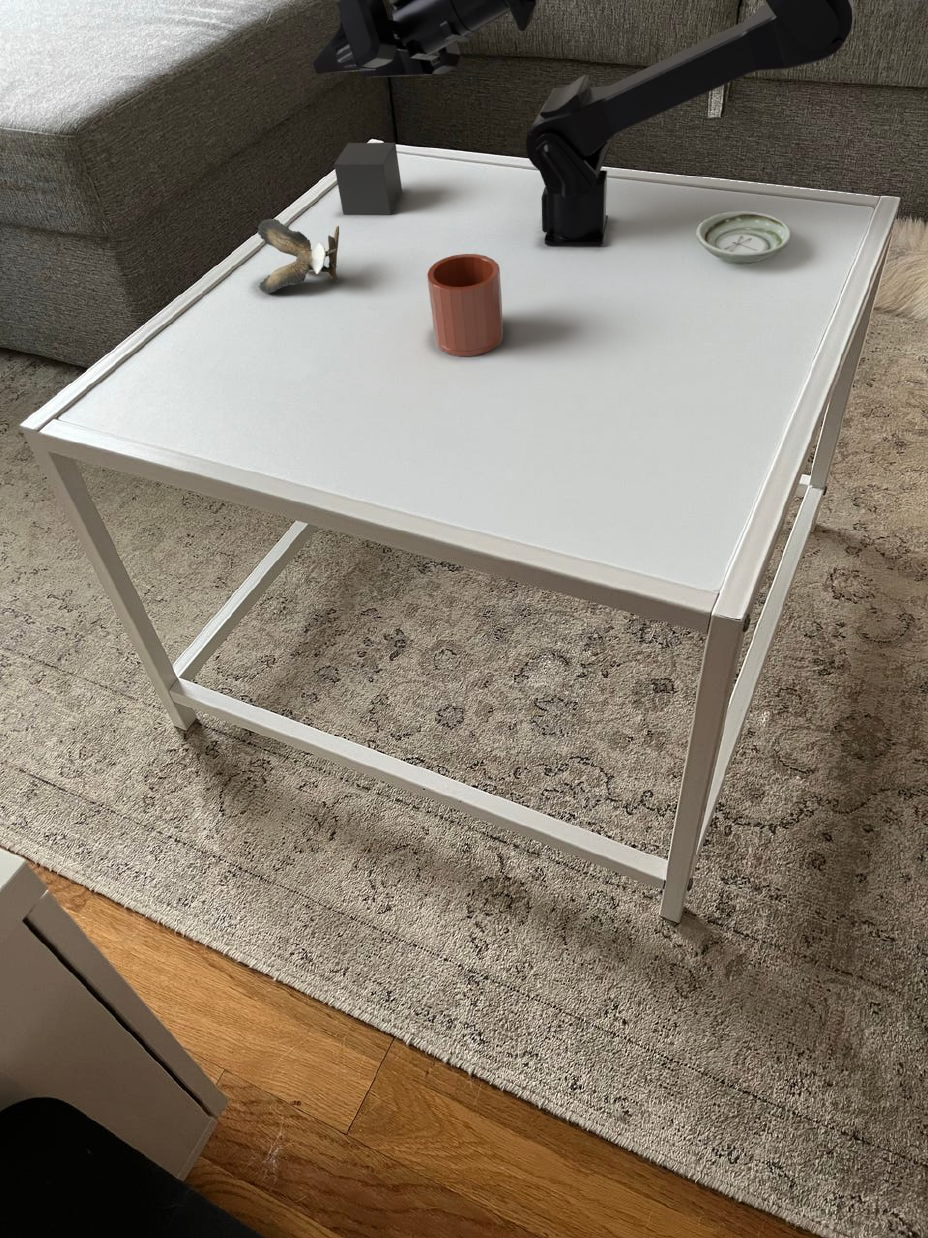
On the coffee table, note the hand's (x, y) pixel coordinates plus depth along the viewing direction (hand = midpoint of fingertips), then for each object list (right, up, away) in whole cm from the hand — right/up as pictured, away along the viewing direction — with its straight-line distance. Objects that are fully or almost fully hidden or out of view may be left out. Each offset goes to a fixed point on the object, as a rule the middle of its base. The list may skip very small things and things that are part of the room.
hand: (338, 70), depth 99 cm
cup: (+14, -30, -6) cm, 34 cm away
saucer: (+43, -20, 0) cm, 47 cm away
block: (+2, -7, +16) cm, 17 cm away
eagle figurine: (-5, -21, +4) cm, 22 cm away
